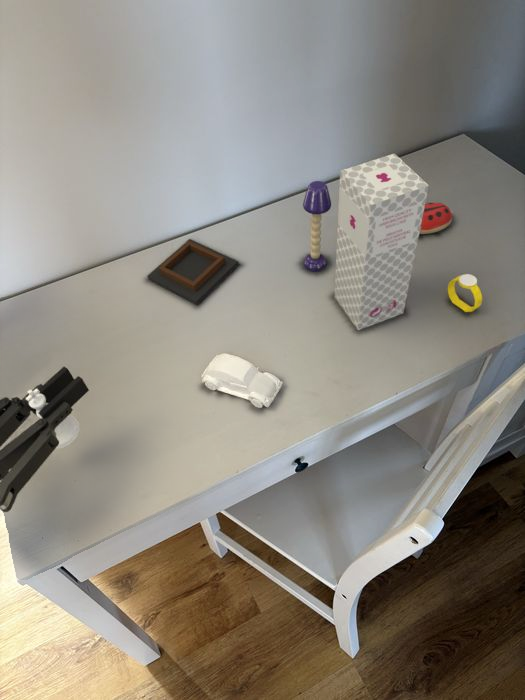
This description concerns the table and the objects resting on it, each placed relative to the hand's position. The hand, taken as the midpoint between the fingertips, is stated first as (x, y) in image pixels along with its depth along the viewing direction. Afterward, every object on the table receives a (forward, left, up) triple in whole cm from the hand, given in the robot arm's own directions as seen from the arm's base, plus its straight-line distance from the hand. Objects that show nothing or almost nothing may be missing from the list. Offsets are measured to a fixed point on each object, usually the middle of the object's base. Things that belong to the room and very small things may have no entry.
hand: (76, 378), depth 69 cm
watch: (+33, +50, -14) cm, 62 cm away
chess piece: (0, -6, -6) cm, 8 cm away
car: (+12, +17, -14) cm, 25 cm away
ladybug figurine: (+19, +66, -14) cm, 70 cm away
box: (+20, +42, -14) cm, 49 cm away
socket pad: (-11, +32, -13) cm, 37 cm away
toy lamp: (+7, +46, -14) cm, 49 cm away
